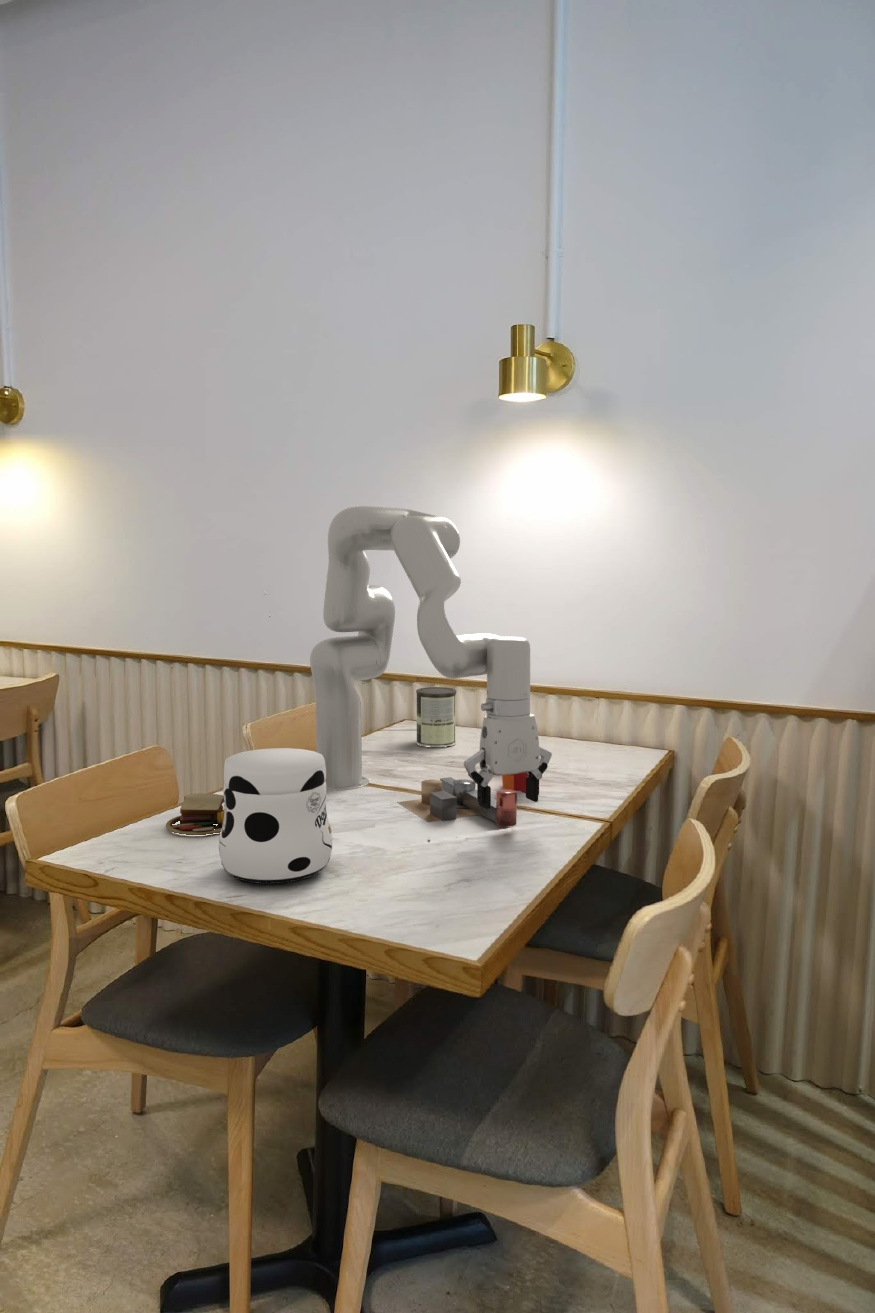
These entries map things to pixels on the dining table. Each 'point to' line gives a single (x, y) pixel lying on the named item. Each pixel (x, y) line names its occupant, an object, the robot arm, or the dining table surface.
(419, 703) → the coffee can
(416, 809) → the base
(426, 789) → the cylinder
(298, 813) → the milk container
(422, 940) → the dining table surface
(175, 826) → the toy sandwich meal
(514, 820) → the lever
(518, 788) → the paper cup
